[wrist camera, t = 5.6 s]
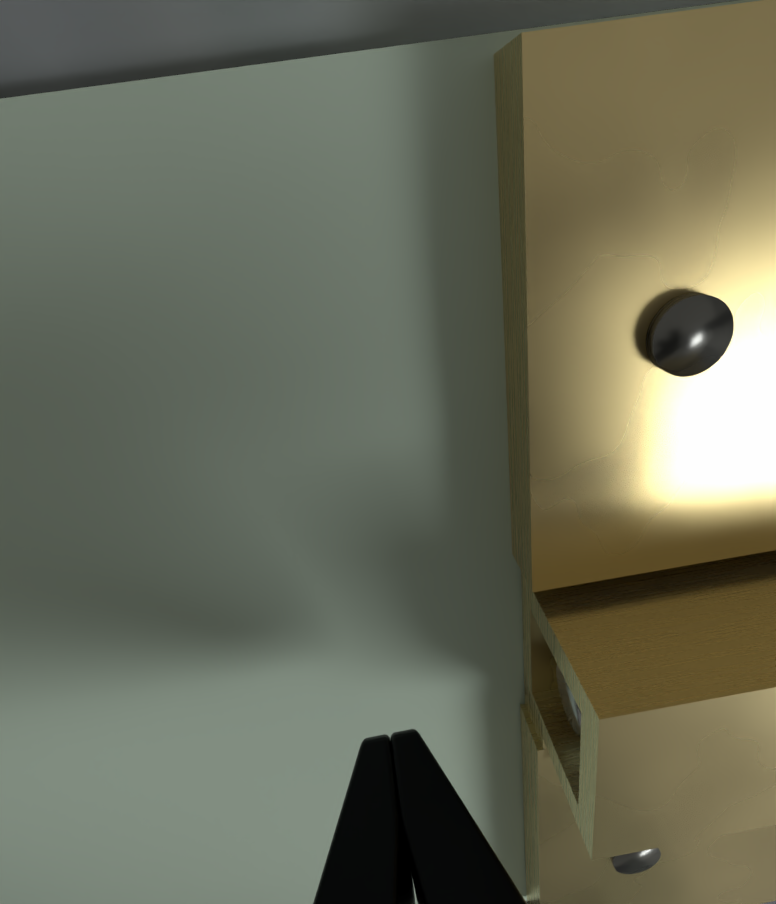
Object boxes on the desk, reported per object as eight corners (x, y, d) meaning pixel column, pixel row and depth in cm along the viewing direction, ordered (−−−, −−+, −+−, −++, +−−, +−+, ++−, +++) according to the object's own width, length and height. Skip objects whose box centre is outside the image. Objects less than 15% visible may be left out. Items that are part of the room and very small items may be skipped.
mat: (1551, -103, 7) (1614, -118, 7) (1029, 783, 15) (1046, 798, 15) (-584, 185, 6) (-640, 184, 6) (51, 974, 14) (44, 995, 14)
